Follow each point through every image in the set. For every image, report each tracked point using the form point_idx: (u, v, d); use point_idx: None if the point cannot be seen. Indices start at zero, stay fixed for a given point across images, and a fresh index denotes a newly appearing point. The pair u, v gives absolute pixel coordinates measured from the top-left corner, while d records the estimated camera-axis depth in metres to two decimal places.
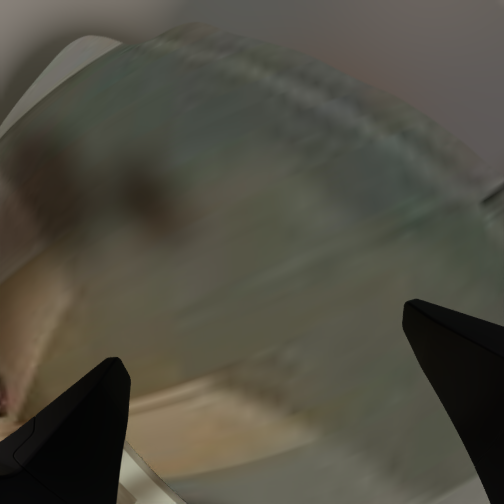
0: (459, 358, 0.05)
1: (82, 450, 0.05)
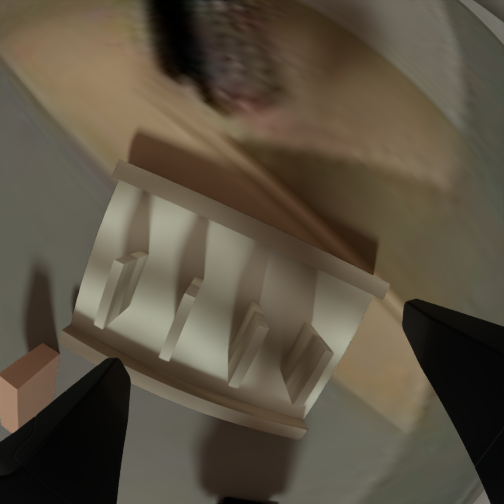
0: (459, 358, 0.05)
1: (82, 450, 0.05)
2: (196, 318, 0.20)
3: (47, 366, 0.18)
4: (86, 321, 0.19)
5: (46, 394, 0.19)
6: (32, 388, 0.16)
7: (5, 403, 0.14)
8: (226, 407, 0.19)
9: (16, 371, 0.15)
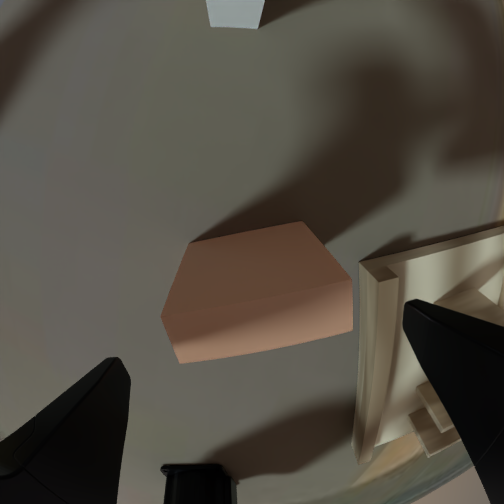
0: (459, 358, 0.05)
1: (82, 450, 0.05)
2: None
3: None
4: (399, 281, 0.16)
5: None
6: None
7: (273, 317, 0.09)
8: (378, 424, 0.19)
9: None
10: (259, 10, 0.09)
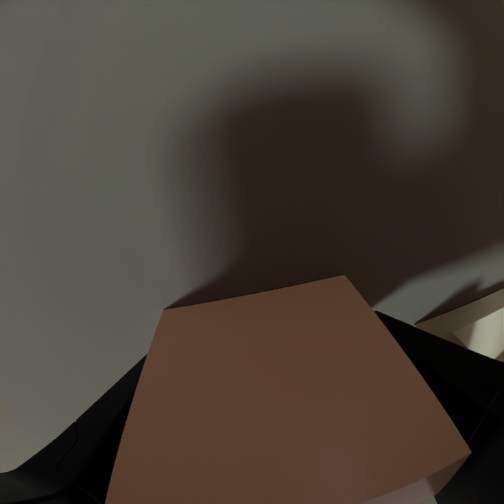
0: None
1: None
2: None
3: None
4: None
5: None
6: None
7: None
8: None
9: None
10: None
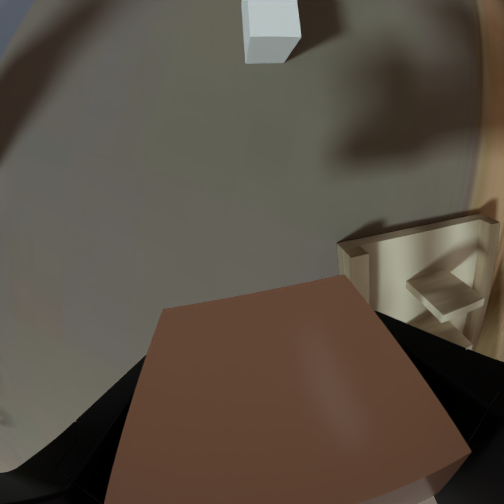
0: None
1: None
2: None
3: None
4: (372, 260, 0.19)
5: None
6: None
7: None
8: None
9: None
10: (289, 52, 0.13)
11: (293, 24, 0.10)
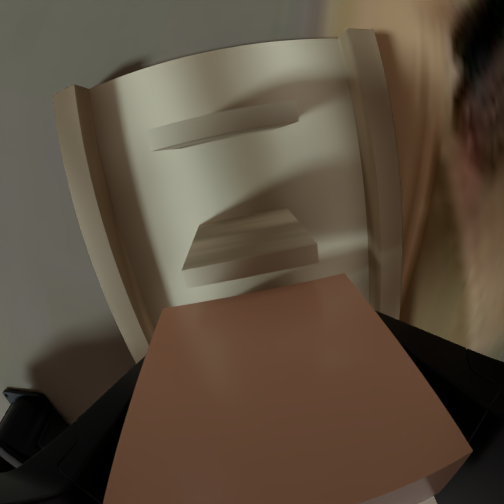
0: None
1: None
2: None
3: None
4: (110, 106, 0.11)
5: None
6: None
7: None
8: None
9: None
10: None
11: None
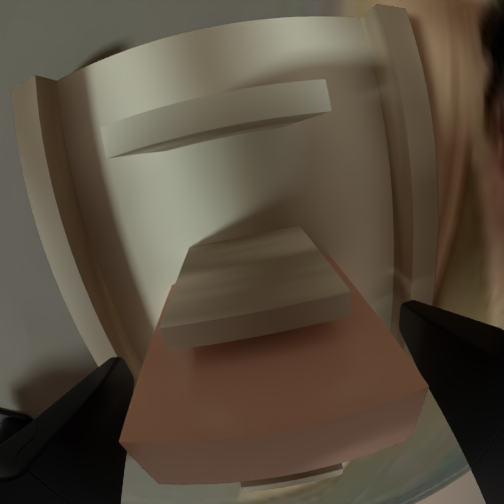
0: (455, 360, 0.05)
1: (86, 451, 0.05)
2: None
3: None
4: (80, 100, 0.08)
5: None
6: None
7: (300, 447, 0.05)
8: None
9: None
10: None
11: None
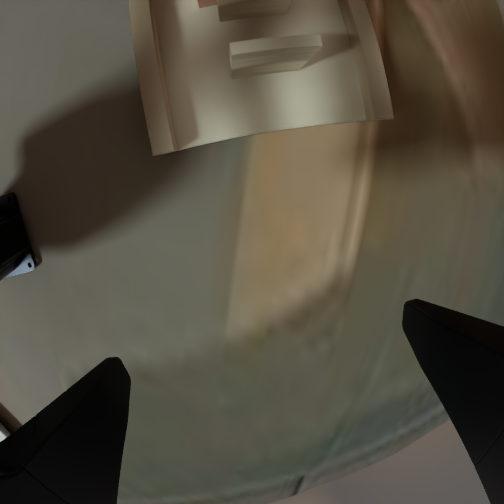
0: (459, 358, 0.05)
1: (82, 450, 0.05)
2: None
3: None
4: None
5: None
6: None
7: None
8: (153, 41, 0.13)
9: None
10: None
11: None
